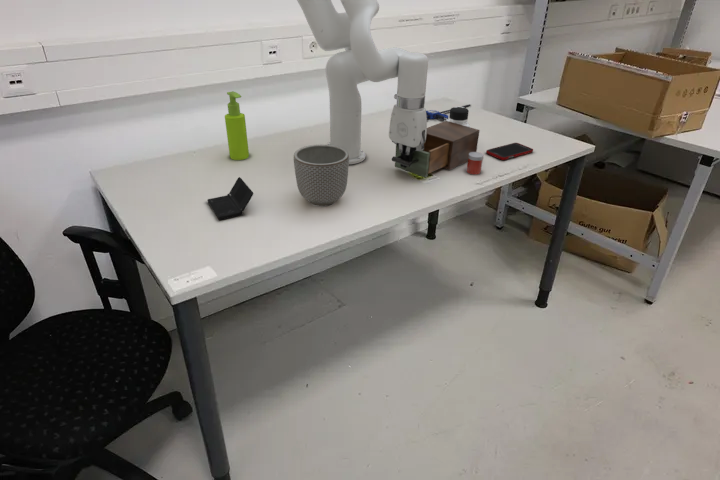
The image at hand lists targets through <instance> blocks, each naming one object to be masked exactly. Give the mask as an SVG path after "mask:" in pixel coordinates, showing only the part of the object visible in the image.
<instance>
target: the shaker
mask: <svg viewBox="0 0 720 480" xmlns="http://www.w3.org/2000/svg"><path fill="white" fill-rule="evenodd" d="M483 160H484V154H483V152H478V151H476V152H470V153H469V155H468V161H467V162H466V164H467V165H466V170H465V171H466V173H467V174H470V175H480V174H481V172H482V167H483Z"/></svg>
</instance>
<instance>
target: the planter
mask: <svg viewBox="0 0 720 480" xmlns="http://www.w3.org/2000/svg"><path fill="white" fill-rule="evenodd" d="M349 166H350V164H349V154H348V152H347V151H346V150H345V149H343V148H341V147H338V146H334V145H327V144H323V143H322V144H321V143H319V144H311V145H306V146H302V147H300V148H298V149H296V150H295V152H294V153H293V167H294V175H295V180H296V186H297V189H298V192H299V194H300V195H301V197H302V198H304V199H305V200H307V201H308V202H309V203H310V204H311V205H313V206H316V207H328V206H331V205H333V204H335V203H336V201H338V200H339V199H340V198H341V197H342V196H343V195H344V194H345V192H346V190H347V186H348V178H349Z"/></svg>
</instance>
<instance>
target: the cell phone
mask: <svg viewBox="0 0 720 480" xmlns="http://www.w3.org/2000/svg"><path fill="white" fill-rule="evenodd" d="M533 152H534V148H532V147H529V146H527V145H524V144H521V143H519V142H511V143H508V144H505V145H500V146H496V147H493V148H489V149H486V152H485V154H487V155H489V156H491V157H494V158H496V159H499V160H501V161H505V160H508V159H513V158H517V157H520V156H524V155H527V154H531V153H533Z"/></svg>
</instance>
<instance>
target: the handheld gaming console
mask: <svg viewBox="0 0 720 480" xmlns="http://www.w3.org/2000/svg"><path fill="white" fill-rule="evenodd" d="M253 196H254V192H253V190H252V189H251V188H250V187H249V186H248V184H247V183H246V182H245V181H244V180H243V179H242V177H240V176H239V177H237V179H236V180H235V183H234V184H233V185H232V187H231V189H230V191H229V193H227V194H226V195H222V196H217V197H211V198H208V199H207V204H208V205H209V206H210V208H211V210H212V212H213V213H214V214H215V216H216V217H217V219H218V220H219V221H223V220H227V219H231V218H236V217H240V216H243V215H244V213H243V212H244V211H245V209H246V207H247V206H248V204H249V202H250V201H251V199H252V197H253Z"/></svg>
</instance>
